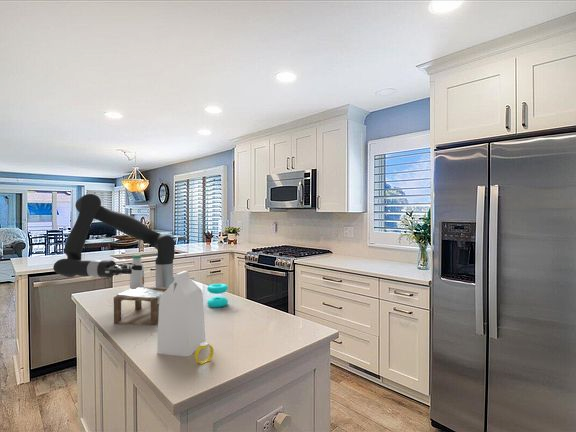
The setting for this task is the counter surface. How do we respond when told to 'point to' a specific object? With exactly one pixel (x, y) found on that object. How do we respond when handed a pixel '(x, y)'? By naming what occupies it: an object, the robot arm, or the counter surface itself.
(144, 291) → the trapdoor
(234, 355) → the counter surface
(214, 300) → the donuts
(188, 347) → the milk
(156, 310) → the frame
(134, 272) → the milk bottle
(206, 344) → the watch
